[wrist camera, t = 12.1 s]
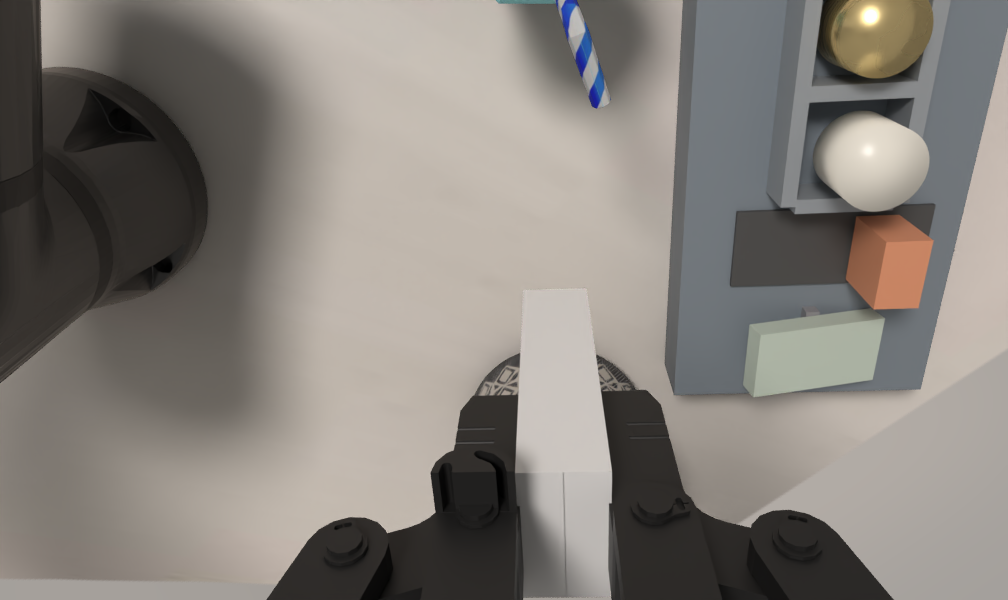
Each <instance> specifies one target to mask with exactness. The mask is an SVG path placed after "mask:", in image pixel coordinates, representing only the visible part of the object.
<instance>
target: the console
mask: <svg viewBox="0 0 1008 600" xmlns="http://www.w3.org/2000/svg"><path fill="white" fill-rule="evenodd" d="M825 1H826V0H683V11H682V31H681V51H680V71H679V90H678V110H677V130H676V150H675V170H674V189H673V209H672V229H671V249H670V269H669V289H668V308H667V328H666V348H665V366H666V370H667V373H668V376H669V380H670V383H671V386H672V390H673V393H674V395H693V394H738V393H749V392H748V391H747V389H746V388H745V387H744V386H743V380H744V371H745V362H746V353H747V344H748V335H749V325H750V324H757V323H764V322H772V321H779V320H787V319H794V318H801V317H809V316H816V315H824V314H831V313H838V312H846V311H853V310H860V309H868V308H871V309H873V308H872V307H871V306H870V305H869V304H868V303H867V302H866V301H865V300H864V299H863V298H862V296H861V295H860V294H859V293H858V292H857V291H856V290H855V289H854V288H853V287H852V286H851V284H850V283H849V282H848V281H847V280H846V274H847V268H848V262H849V257H850V251H851V245H852V239H853V233H854V227H855V222H856V216H879V215H900V216H902V217H903V218H904V219H906V220H907V221H908V222H910V223H911V224H912V225H914V226H915V227H916V228H918V229H919V230H920V231H922V232H923V233H924V234H926V235H927V236H928V237H930V238H931V239H932V240H934V241H933V246H932V250H931V254H930V259H929V263H928V268H927V272H926V277H925V281H924V285H923V290H922V294H921V299H920V303H919V308H906V309H873V310H874V311H876V312H877V313H878V314H880V315H881V316H883V317H884V318H885V322H884V326H883V331H882V336H881V341H880V346H879V351H878V356H877V361H876V366H875V371H874V375H873V380H868V381H861V382H854V383H848V384H841V385H834V386H827V387H821V388H814V389H807V390H801V391H794V392H827V391H871V390H915V389H921V385H922V381H923V377H924V372H925V368H926V364H927V360H928V356H929V352H930V348H931V343H932V339H933V335H934V331H935V327H936V323H937V318H938V314H939V310H940V306H941V302H942V298H943V294H944V289H945V285H946V281H947V277H948V273H949V269H950V265H951V260H952V256H953V252H954V248H955V244H956V240H957V235H958V231H959V227H960V223H961V219H962V215H963V211H964V206H965V202H966V198H967V194H968V190H969V186H970V181H971V177H972V173H973V169H974V165H975V161H976V157H977V152H978V148H979V144H980V140H981V136H982V132H983V128H984V123H985V119H986V115H987V111H988V107H989V103H990V98H991V94H992V90H993V86H994V82H995V78H996V74H997V69H998V65H999V61H1000V57H1001V53H1002V49H1003V45H1004V40H1005V36H1006V32H1007V28H1008V0H929V2H930V5H931V7H932V11H933V17H934V24H933V31H932V34H931V37H930V40H929V43H928V44H927V46H926V48H925V50H924V51H923V53H922V54H921V55H920V57H919V58H918V59H917V60H916V61H915V62H914V63H913V64H912V65H910V66H909V67H908V68H906V69H905V70H903V71H902V72H900V73H898V74H895V75H893V76H890V77H886V78H879V79H878V78H867V77H864V76H861V75H858V74H856V73H853V72H851V71H848V70H846V69H843V68H841V67H839V66H836V65H834V64H832V63H830V62H828V61H827V60H826V59H825V58H824V57H823V56H822V55H821V54H820V52H819V50H818V49H817V40H818V33H819V25H820V17H821V10H822V6H823V4H824V3H825ZM854 111H872V112H875V113H878V114H880V115H882V116H884V117H886V118H888V119H890V120H892V121H894V122H896V123H898V124H900V125H902V126H904V127H906V128H908V129H910V130H912V131H914V132H915V133H917V134H918V135H919V136H920V137H921V138H922V139H923V140H924V142H925V144H926V146H927V148H928V151H929V169H928V172H927V175H926V178H925V180H924V182H923V183H922V185H921V186H920V188H919V189H918V190H917V191H916V193H915V194H914V195H913V196H911V197H910V198H909V199H908V200H907V201H905V202H904V203H902V204H900V205H899V206H896V207H894V208H891V209H888V210H884V211H878V212H869V211H864V210H860V209H858V208H855V207H854V206H852V205H851V204H849V203H848V202H847V201H846V200H844V199H843V198H842V197H841V196H840V195H838V194H837V193H836V192H835V191H834V190H832V189H831V188H830V187H829V186H828V185H826V184H825V183H824V182H823V181H822V180H821V179H820V178H819V177H818V175H817V173H816V171H815V169H814V165H813V151H814V147H815V144H816V142H817V139H818V137H819V136H820V134H821V133H822V131H823V130H824V129H825V128H826V127H827V126H828V125H829V124H830V123H831V122H832V121H834V120H835V119H837V118H838V117H840V116H842V115H844V114H847V113H850V112H854Z"/></svg>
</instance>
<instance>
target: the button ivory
mask: <svg viewBox="0 0 1008 600" xmlns="http://www.w3.org/2000/svg"><path fill="white" fill-rule="evenodd" d="M813 165H814V169H815V171H816V173H817V175H818V177H819V178H820V179H821V180H822V181H823V182H824V183H825V184H826V185H828V186H829V187H830V188H831V189H832V190H834V191H835V192H836V193H837V194H838V195H840V196H841V197H842V198H843V199H844V200H846V201H847V202H848V203H849V204H851V205H852V206H854V207H855V208H858V209H860V210H864V211H869V212H878V211H884V210H888V209H891V208H894V207H896V206H899V205H900V204H902V203H904V202H905V201H907V200H908V199H909V198H910V197H911V196H913V195H914V194H915V193H916V191H917V190H918V189H919V188H920V186H921V185H922V183H923V182H924V180H925V178H926V175H927V172H928V169H929V151H928V148H927V146H926V144H925V142H924V140H923V139H922V138H921V137H920V136H919V135H918V134H917V133H915V132H914V131H912V130H910V129H908V128H906V127H904V126H902V125H900V124H898V123H896V122H894V121H892V120H890V119H888V118H886V117H884V116H882V115H880V114H878V113H875V112H872V111H854V112H850V113H847V114H844V115H842V116H840V117H838V118H837V119H835V120H834V121H832V122H831V123H830V124H829V125H828V126H827V127H826V128H825V129H824V130H823V131H822V133H821V134H820V136H819V137H818V139H817V142H816V144H815V147H814V151H813Z"/></svg>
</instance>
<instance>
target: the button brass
mask: <svg viewBox="0 0 1008 600" xmlns="http://www.w3.org/2000/svg"><path fill="white" fill-rule="evenodd" d="M933 24H934V17H933V11H932V7H931V5H930V2H929V0H826V1H825V3H824V4H823V6H822V10H821V17H820V25H819V33H818V40H817V49H818V50H819V52H820V54H821V55H822V56H823V57H824V58H825V59H826V60H827V61H828V62H830V63H832V64H834V65H836V66H839V67H841V68H843V69H846V70H848V71H851V72H853V73H856V74H858V75H861V76H864V77H867V78H878V79H879V78H886V77H890V76H893V75H895V74H898V73H900V72H902V71H903V70H905V69H906V68H908V67H909V66H910V65H912V64H913V63H914V62H915V61H916V60H917V59H918V58H919V57H920V55H921V54H922V53H923V51H924V50H925V48H926V46H927V44H928V43H929V40H930V37H931V34H932V31H933Z"/></svg>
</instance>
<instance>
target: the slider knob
mask: <svg viewBox="0 0 1008 600" xmlns="http://www.w3.org/2000/svg"><path fill="white" fill-rule="evenodd" d="M933 241H934V240H932V239H931V238H930V237H928V236H927V235H926V234H924V233H923V232H922V231H920V230H919V229H918V228H916V227H915V226H914V225H912V224H911V223H910V222H908V221H907V220H906V219H904V218H903V217H902V216H900V215H879V216H856V222H855V227H854V233H853V239H852V245H851V251H850V257H849V262H848V268H847V274H846V280H847V281H848V282H849V283H850V284H851V286H852V287H853V288H854V289H855V290H856V291H857V292H858V293H859V294H860V295H861V296H862V298H863V299H864V300H865V301H866V302H867V303H868V304H869V305H870V306H871V307H872V308H873V309H906V308H919V303H920V299H921V294H922V290H923V285H924V281H925V277H926V272H927V268H928V263H929V259H930V254H931V250H932V246H933Z"/></svg>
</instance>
